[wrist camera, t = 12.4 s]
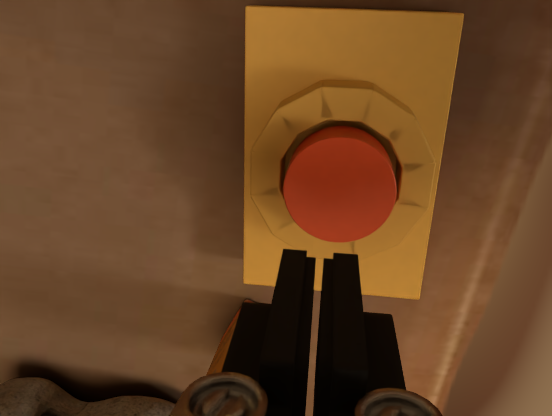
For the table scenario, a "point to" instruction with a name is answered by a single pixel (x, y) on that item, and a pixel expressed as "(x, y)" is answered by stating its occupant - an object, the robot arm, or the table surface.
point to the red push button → (340, 184)
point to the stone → (71, 402)
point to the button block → (346, 112)
